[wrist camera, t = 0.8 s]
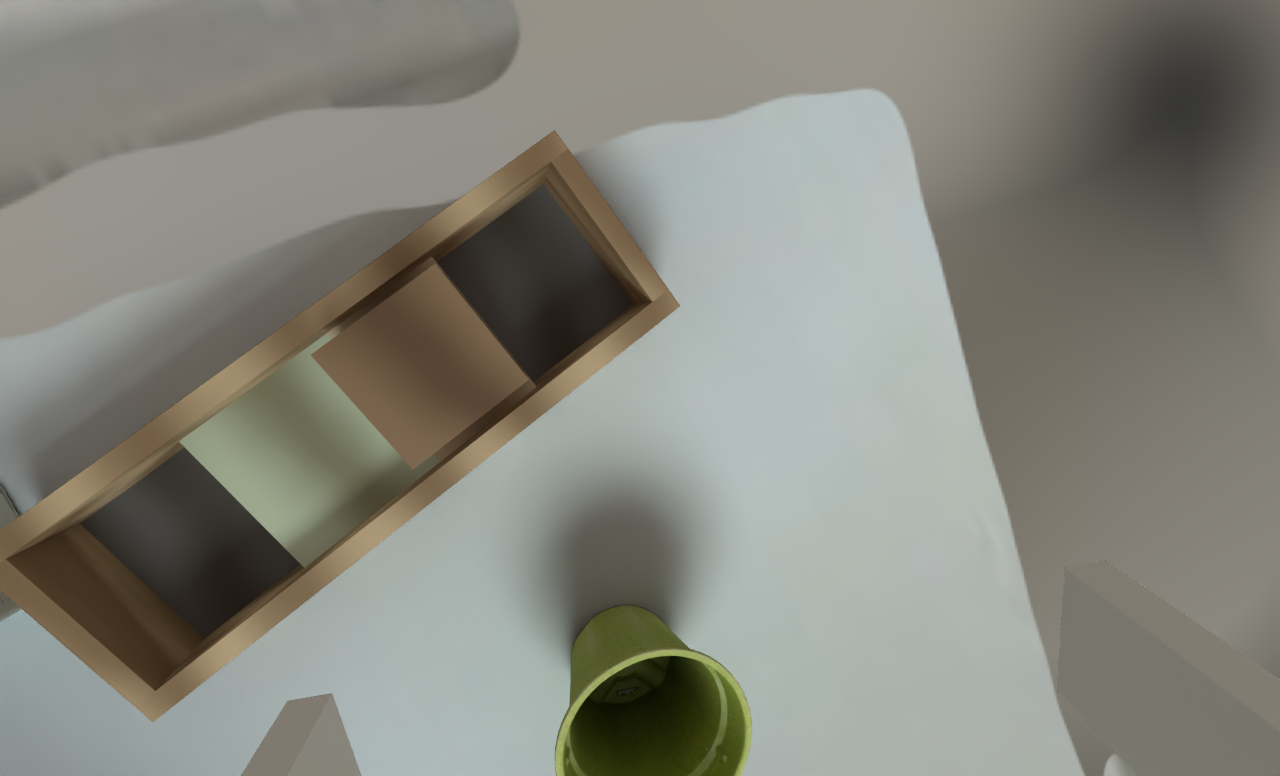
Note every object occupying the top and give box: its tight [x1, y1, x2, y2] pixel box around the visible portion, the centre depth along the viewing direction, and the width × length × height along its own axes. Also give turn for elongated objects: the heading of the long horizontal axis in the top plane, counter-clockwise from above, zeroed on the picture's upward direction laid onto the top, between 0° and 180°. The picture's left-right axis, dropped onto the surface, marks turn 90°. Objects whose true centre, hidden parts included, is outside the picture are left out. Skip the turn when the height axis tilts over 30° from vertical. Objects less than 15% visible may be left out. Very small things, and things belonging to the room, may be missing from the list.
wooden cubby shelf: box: [0, 130, 680, 722], centre depth 30 cm, size 30×10×5 cm, turn 126°
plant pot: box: [555, 606, 752, 776], centre depth 33 cm, size 9×9×9 cm
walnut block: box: [311, 264, 529, 470], centre depth 27 cm, size 6×6×5 cm
